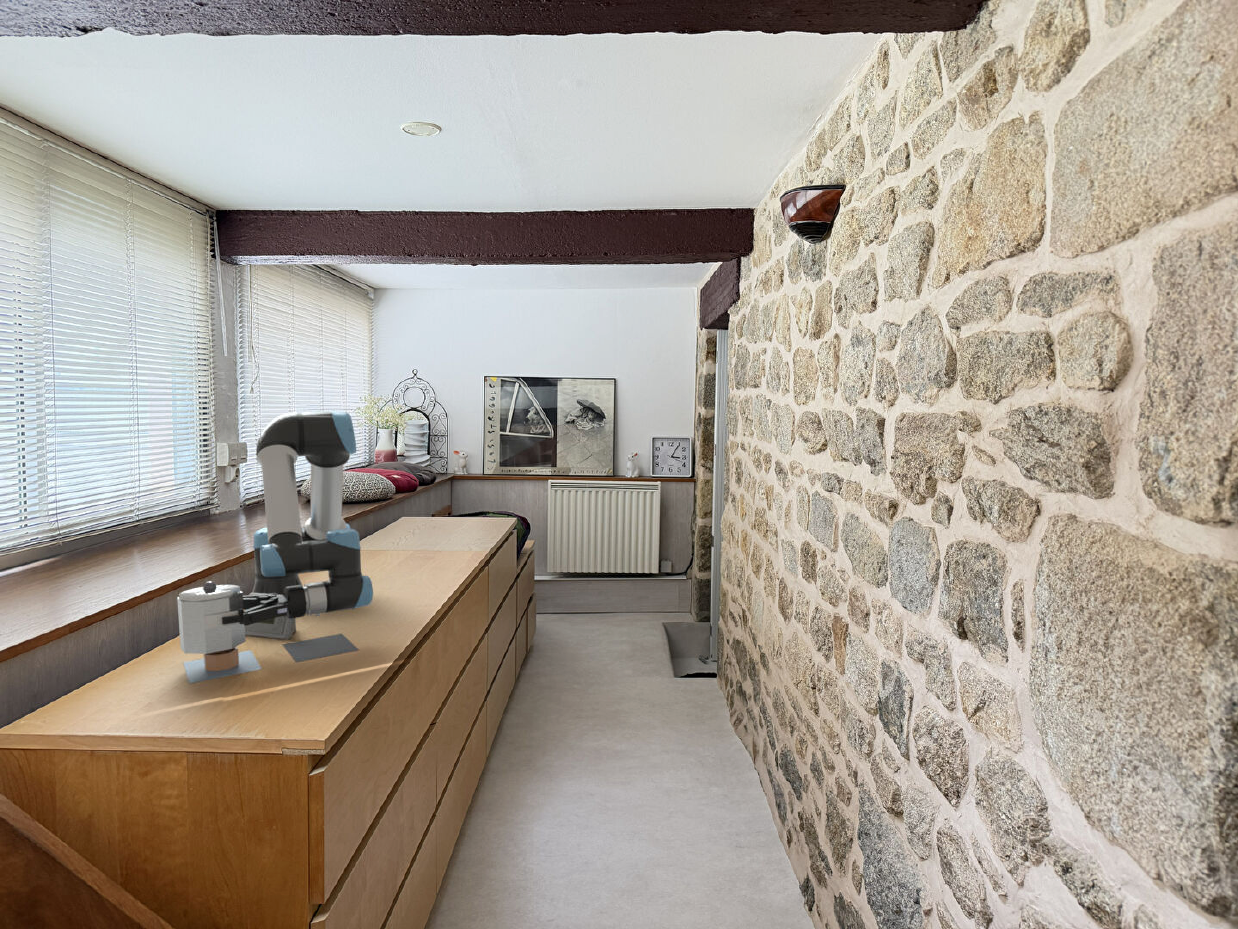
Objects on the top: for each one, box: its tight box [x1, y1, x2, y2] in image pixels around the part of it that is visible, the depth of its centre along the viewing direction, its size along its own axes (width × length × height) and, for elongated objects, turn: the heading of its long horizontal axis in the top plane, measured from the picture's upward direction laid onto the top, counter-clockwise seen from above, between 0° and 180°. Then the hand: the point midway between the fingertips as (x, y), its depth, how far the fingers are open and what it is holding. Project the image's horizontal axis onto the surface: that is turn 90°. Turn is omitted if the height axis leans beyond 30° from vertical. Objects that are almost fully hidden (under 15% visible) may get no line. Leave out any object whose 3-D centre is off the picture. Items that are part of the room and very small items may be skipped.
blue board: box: [182, 649, 263, 684], centre depth 168 cm, size 16×14×1 cm
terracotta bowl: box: [203, 646, 239, 671], centre depth 168 cm, size 7×7×4 cm
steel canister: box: [176, 580, 246, 655], centre depth 166 cm, size 12×12×14 cm
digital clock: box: [244, 592, 297, 640], centre depth 191 cm, size 16×9×11 cm, turn 58°
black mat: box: [282, 633, 360, 663], centre depth 180 cm, size 16×14×1 cm
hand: (200, 616), depth 165 cm, fingers closed on steel canister, 12 cm apart
